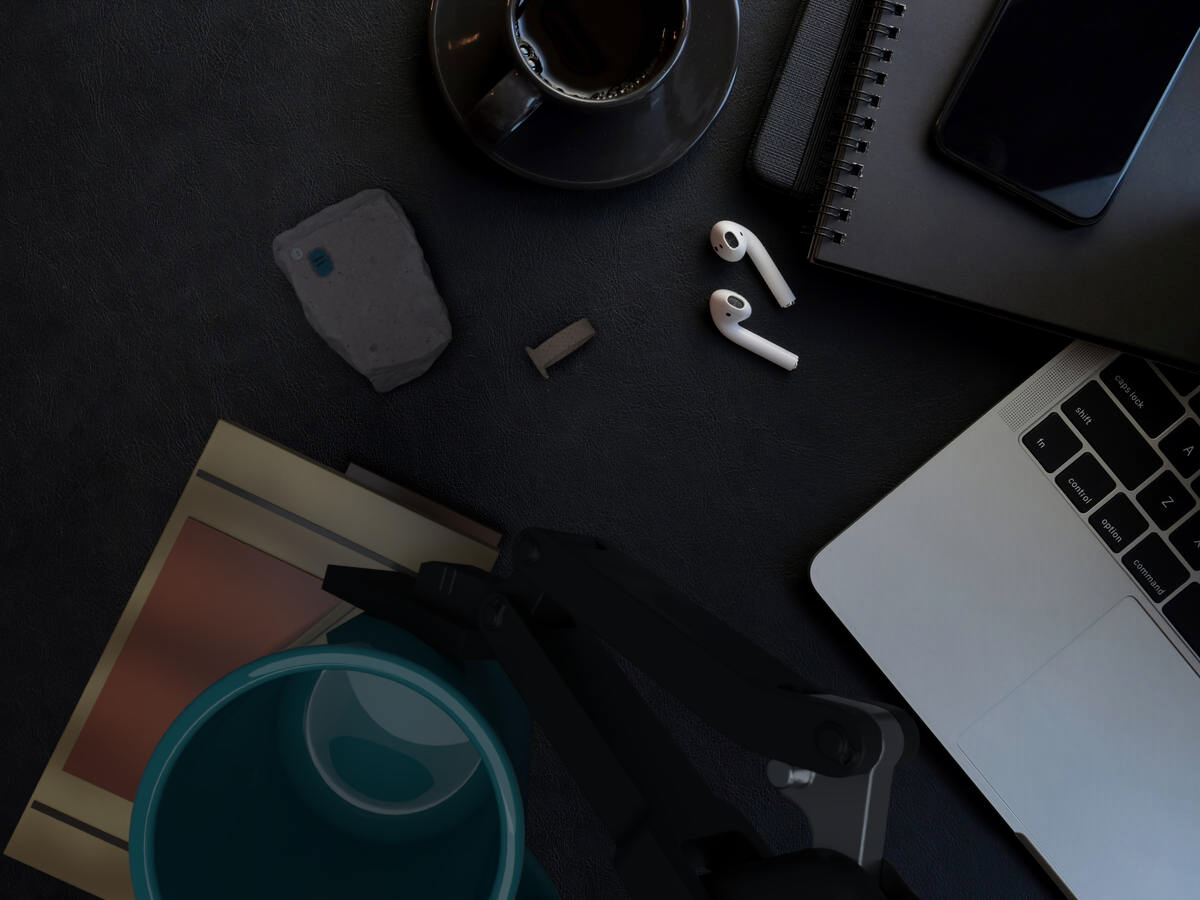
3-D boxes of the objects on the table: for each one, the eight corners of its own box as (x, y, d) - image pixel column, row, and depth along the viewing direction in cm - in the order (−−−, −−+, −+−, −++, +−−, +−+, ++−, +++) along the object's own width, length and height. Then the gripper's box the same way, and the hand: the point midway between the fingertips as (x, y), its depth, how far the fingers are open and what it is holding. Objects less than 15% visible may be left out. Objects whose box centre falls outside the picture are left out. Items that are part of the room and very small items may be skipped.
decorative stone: (275, 249, 67) (249, 230, 61) (391, 187, 68) (376, 163, 62) (365, 411, 68) (347, 407, 62) (480, 348, 68) (473, 339, 62)
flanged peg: (525, 351, 68) (523, 343, 63) (580, 315, 68) (582, 305, 63) (545, 382, 68) (545, 376, 63) (600, 346, 68) (603, 338, 63)
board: (299, 964, 41) (288, 986, 39) (22, 839, 40) (-1, 856, 38) (501, 549, 41) (499, 553, 39) (231, 419, 40) (217, 418, 39)
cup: (468, 955, 33) (426, 1213, 21) (216, 720, 32) (39, 855, 21) (647, 764, 33) (697, 918, 22) (400, 530, 33) (322, 564, 21)
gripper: (1051, 1857, 16) (337, 1052, 31) (1345, 599, 16) (501, 414, 31) (852, 2505, 10) (100, 1134, 25) (1310, 558, 11) (304, 358, 26)
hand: (322, 736), depth 28 cm, fingers closed on cup, 9 cm apart
